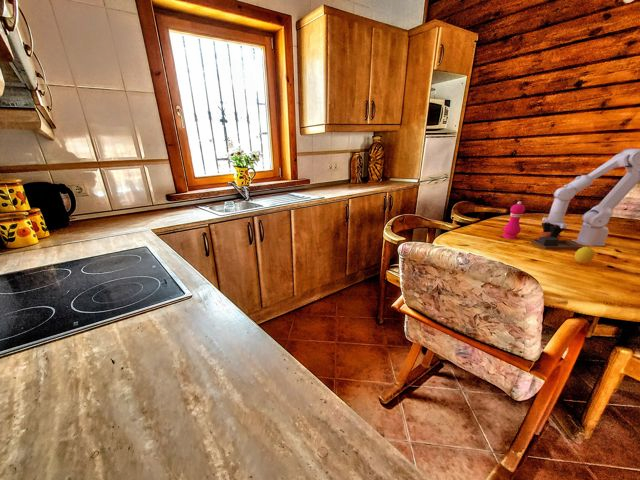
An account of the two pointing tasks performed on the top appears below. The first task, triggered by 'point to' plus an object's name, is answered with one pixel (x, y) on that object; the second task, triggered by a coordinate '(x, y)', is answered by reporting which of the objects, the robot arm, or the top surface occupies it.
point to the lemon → (584, 255)
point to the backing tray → (559, 245)
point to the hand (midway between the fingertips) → (549, 238)
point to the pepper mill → (514, 221)
